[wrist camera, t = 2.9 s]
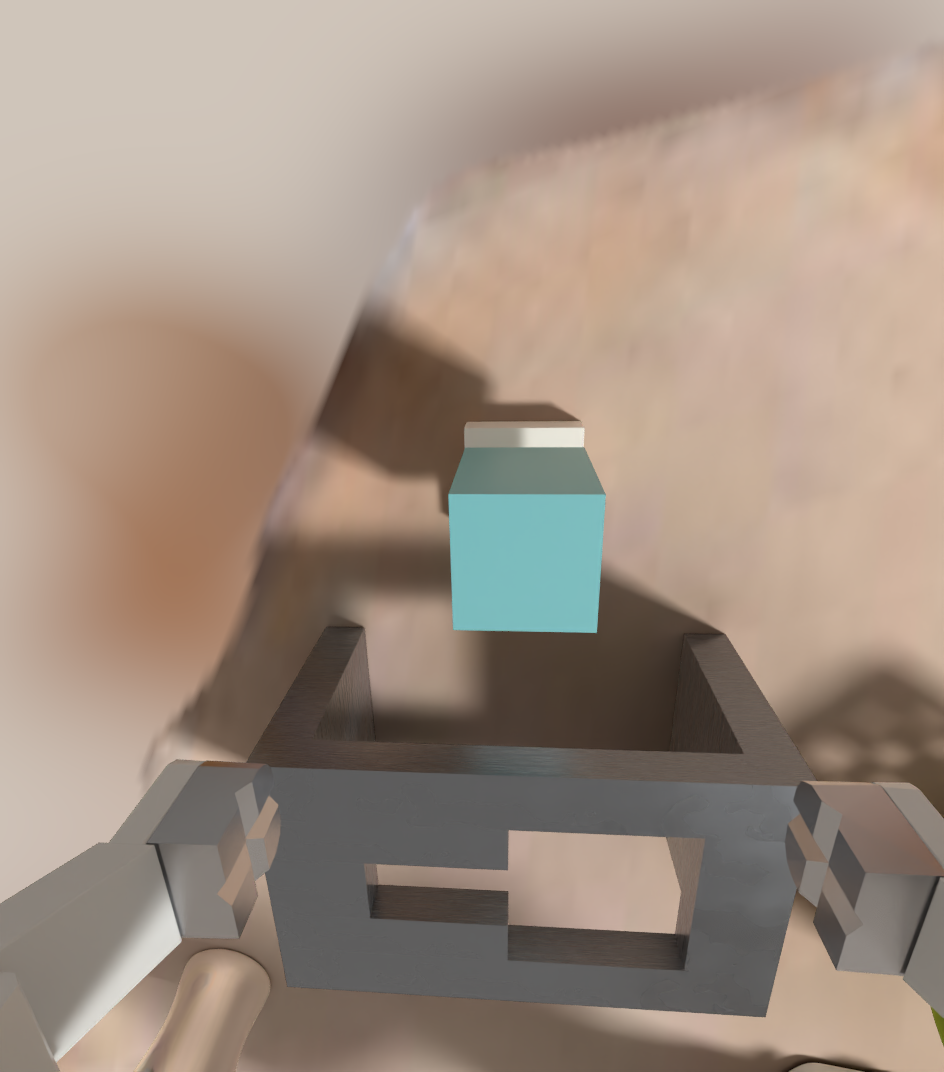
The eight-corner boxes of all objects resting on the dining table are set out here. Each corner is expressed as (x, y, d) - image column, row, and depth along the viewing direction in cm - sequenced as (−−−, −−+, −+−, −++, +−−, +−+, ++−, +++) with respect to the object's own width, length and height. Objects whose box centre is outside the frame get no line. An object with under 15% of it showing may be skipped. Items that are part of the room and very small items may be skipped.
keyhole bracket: (725, 634, 30) (821, 787, 20) (697, 820, 34) (765, 1017, 25) (326, 626, 31) (243, 766, 22) (348, 806, 35) (287, 986, 26)
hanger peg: (580, 420, 26) (615, 486, 17) (576, 528, 28) (604, 639, 19) (466, 421, 27) (439, 485, 17) (469, 527, 28) (445, 636, 19)
